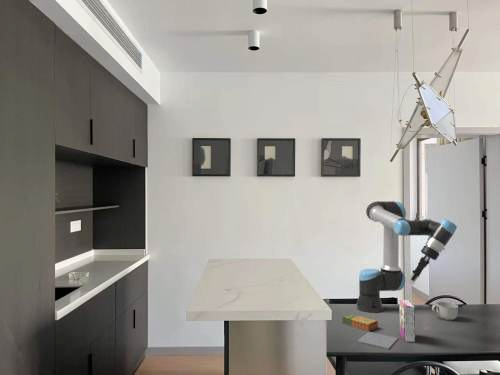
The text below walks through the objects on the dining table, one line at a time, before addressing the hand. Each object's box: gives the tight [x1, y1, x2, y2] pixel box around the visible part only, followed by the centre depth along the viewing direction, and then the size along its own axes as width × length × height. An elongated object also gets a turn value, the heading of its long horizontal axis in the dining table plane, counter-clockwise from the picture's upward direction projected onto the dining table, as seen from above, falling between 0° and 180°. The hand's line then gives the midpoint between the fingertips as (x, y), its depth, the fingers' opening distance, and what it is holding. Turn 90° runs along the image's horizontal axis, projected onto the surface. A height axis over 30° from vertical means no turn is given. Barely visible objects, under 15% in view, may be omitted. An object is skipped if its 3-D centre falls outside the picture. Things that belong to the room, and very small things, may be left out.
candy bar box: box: [398, 299, 416, 343], centre depth 174 cm, size 11×5×16 cm, turn 168°
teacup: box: [431, 300, 459, 321], centre depth 204 cm, size 14×11×8 cm
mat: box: [356, 331, 399, 350], centre depth 170 cm, size 15×14×1 cm
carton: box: [342, 313, 379, 332], centre depth 190 cm, size 8×16×4 cm, turn 39°
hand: (407, 286), depth 176 cm, fingers open, 13 cm apart
